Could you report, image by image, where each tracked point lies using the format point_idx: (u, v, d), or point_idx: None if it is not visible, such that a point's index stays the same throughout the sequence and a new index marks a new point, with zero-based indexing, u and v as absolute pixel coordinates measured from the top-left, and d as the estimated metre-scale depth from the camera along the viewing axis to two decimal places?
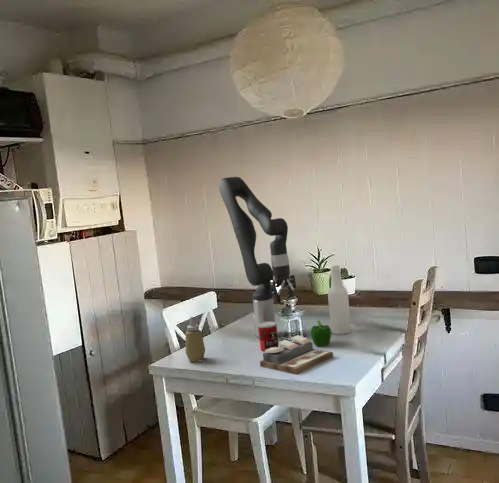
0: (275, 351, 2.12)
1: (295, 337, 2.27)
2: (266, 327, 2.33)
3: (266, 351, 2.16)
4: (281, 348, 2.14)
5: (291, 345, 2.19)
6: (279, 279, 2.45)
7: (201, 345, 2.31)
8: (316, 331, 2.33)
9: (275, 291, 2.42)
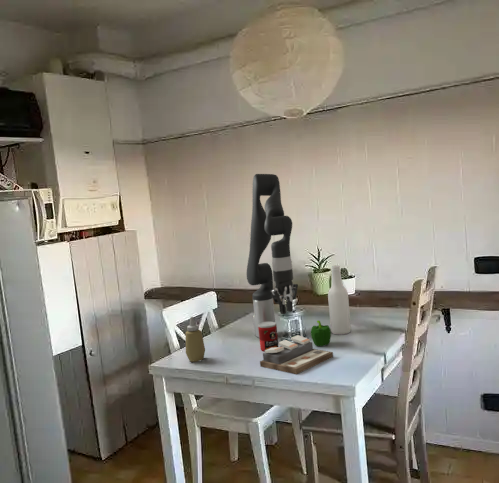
0: (275, 351, 2.12)
1: (295, 337, 2.27)
2: (266, 327, 2.33)
3: (266, 351, 2.16)
4: (281, 348, 2.14)
5: (291, 345, 2.19)
6: (280, 285, 2.15)
7: (201, 345, 2.31)
8: (316, 331, 2.33)
9: (280, 300, 2.14)
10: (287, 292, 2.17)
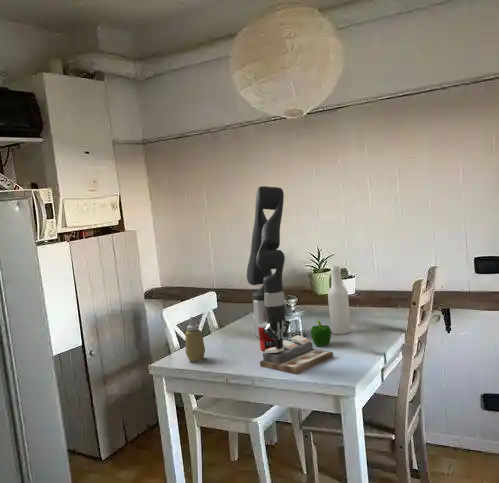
0: (275, 351, 2.12)
1: (295, 337, 2.27)
2: None
3: (266, 351, 2.16)
4: None
5: (291, 345, 2.19)
6: (272, 321, 2.10)
7: (201, 345, 2.31)
8: (316, 331, 2.33)
9: (275, 336, 2.10)
10: None
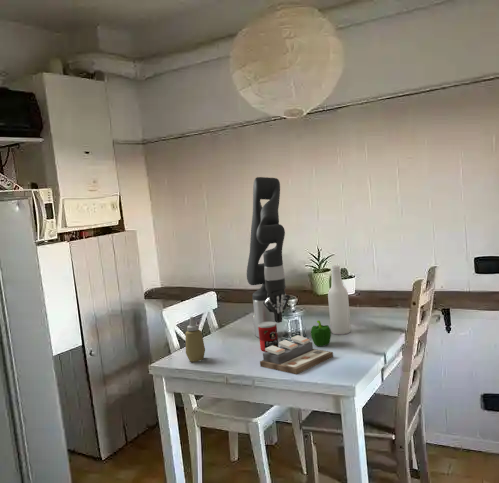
0: (276, 353, 2.12)
1: (295, 337, 2.27)
2: (266, 327, 2.33)
3: (266, 349, 2.16)
4: (282, 351, 2.14)
5: (291, 345, 2.19)
6: (272, 295, 2.12)
7: (201, 345, 2.31)
8: (316, 331, 2.33)
9: (275, 309, 2.13)
10: None
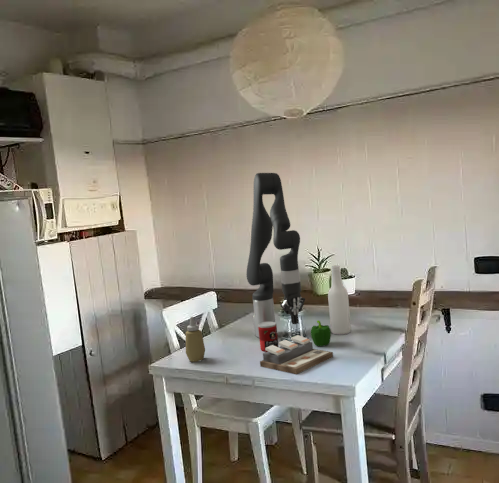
0: (276, 354, 2.12)
1: (295, 337, 2.27)
2: (266, 327, 2.33)
3: (267, 349, 2.16)
4: (282, 351, 2.14)
5: (291, 345, 2.19)
6: (288, 298, 2.23)
7: (201, 345, 2.31)
8: (316, 331, 2.33)
9: (291, 311, 2.24)
10: None
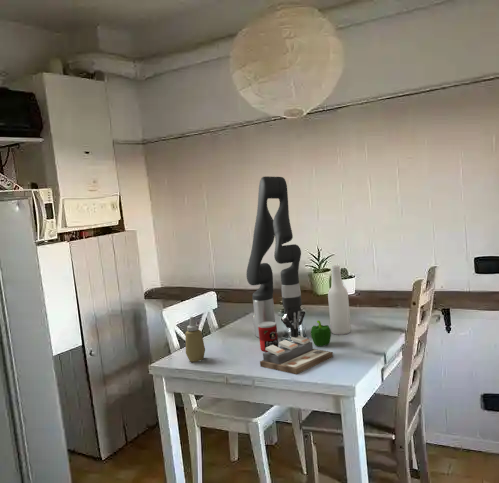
0: (276, 354, 2.12)
1: None
2: (266, 327, 2.33)
3: (267, 349, 2.15)
4: (282, 352, 2.14)
5: (291, 345, 2.19)
6: (289, 312, 2.24)
7: (201, 345, 2.31)
8: (316, 331, 2.33)
9: (292, 325, 2.25)
10: None
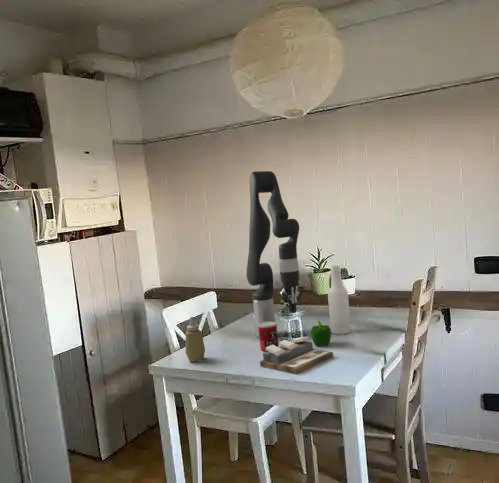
0: (276, 354, 2.12)
1: (294, 339, 2.27)
2: (266, 327, 2.33)
3: (267, 349, 2.15)
4: (282, 352, 2.14)
5: (291, 345, 2.19)
6: (287, 286, 2.23)
7: (201, 345, 2.31)
8: (316, 331, 2.33)
9: (289, 300, 2.24)
10: None
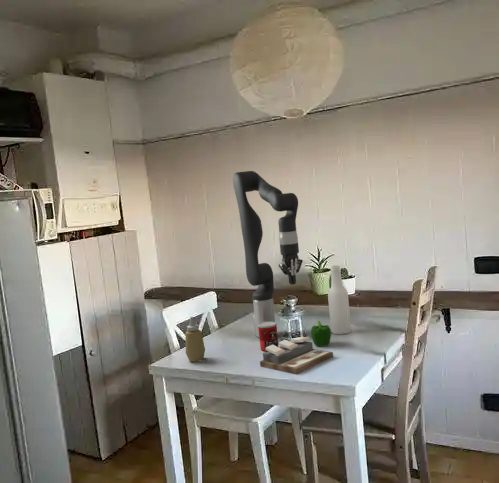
0: (276, 354, 2.12)
1: (294, 339, 2.27)
2: (266, 327, 2.33)
3: (267, 349, 2.15)
4: (282, 352, 2.14)
5: (291, 345, 2.19)
6: (286, 258, 2.29)
7: (201, 345, 2.31)
8: (316, 331, 2.33)
9: (289, 271, 2.30)
10: None
